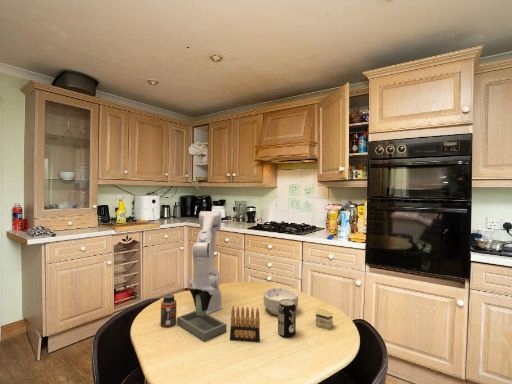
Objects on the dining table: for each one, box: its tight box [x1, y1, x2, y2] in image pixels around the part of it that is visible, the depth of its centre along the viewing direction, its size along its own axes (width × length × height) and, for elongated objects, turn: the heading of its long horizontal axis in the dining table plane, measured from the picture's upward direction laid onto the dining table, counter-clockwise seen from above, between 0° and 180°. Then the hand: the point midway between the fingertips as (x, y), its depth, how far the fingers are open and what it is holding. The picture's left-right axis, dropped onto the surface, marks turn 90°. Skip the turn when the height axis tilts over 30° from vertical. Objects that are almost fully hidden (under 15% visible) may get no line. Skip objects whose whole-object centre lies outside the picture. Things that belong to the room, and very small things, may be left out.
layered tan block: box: [314, 308, 334, 331], centre depth 113 cm, size 10×9×6 cm
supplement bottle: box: [160, 293, 177, 328], centre depth 112 cm, size 6×6×11 cm
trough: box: [176, 310, 227, 343], centre depth 109 cm, size 10×18×3 cm, turn 47°
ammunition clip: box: [229, 305, 261, 343], centre depth 101 cm, size 11×2×12 cm, turn 84°
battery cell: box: [195, 294, 206, 316], centre depth 109 cm, size 4×4×8 cm
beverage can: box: [277, 299, 297, 338], centre depth 106 cm, size 7×7×12 cm
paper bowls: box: [263, 287, 299, 316], centre depth 126 cm, size 15×15×8 cm
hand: (201, 308), depth 109 cm, fingers closed on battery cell, 4 cm apart
